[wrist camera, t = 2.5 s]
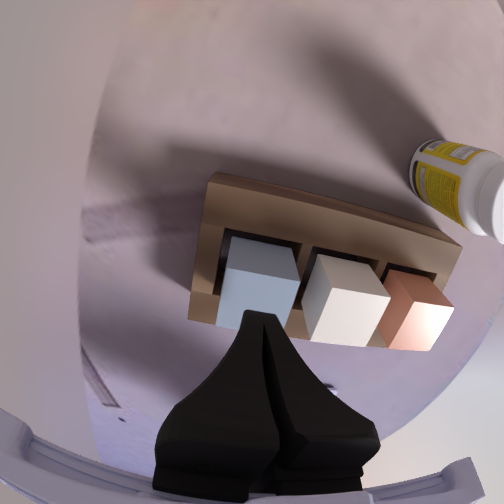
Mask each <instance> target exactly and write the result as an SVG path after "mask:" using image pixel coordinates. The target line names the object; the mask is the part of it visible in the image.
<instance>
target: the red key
mask: <svg viewBox="0 0 504 504" xmlns="http://www.w3.org/2000/svg"><path fill="white" fill-rule="evenodd" d="M383 286H384V288H385V289H386V291H387V292H388V294H389V295H390V297H391V299H390V301H389V303H388V305H387V307H386V309H385V311H384V313H383V315H382V317H381V319H380V321H379V323H378V325H377V328H378V330H379V332H380V334H381V336H382V338H383V340H384V342H385V344H386V346H387V348H388V349H398V350H416V351H429V350H430V348H431V347H432V345H433V344H434V342H435V341H436V339H437V337H438V336H439V334H440V332H441V331H442V329H443V327H444V326H445V324H446V322H447V321H448V319H449V317H450V315H451V314H452V312H453V310H454V306H453V305H452V304H451V303H450V302H449V300H448V299H447V298H446V297H445V296H444V295H443V294H442V292H441V291H440V290H439V289H438V288H437V287H436V286H435V284H434V283H433V282H432V281H431V280H430V279H429V278H428V277H424V276H419V275H414V274H410V273H405V272H401V271H396V270H392V269H389V272H388V274H387V276H386V279H385V281H384V283H383Z"/></svg>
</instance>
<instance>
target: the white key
mask: <svg viewBox="0 0 504 504" xmlns="http://www.w3.org/2000/svg"><path fill="white" fill-rule="evenodd" d="M390 299H391V297H390V295H389V294H388V292H387V291H386V289H385V288H384V286H383V285H382V283H381V282H380V280H379V279H378V277H377V276H376V274H375V273H374V272H373V270H372V269H371V267H370V266H369V265H368V264H364V263H359V262H354V261H350V260H345V259H340V258H335V257H331V256H326V255H321V254H318V255H317V258H316V261H315V264H314V267H313V269H312V272H311V275H310V278H309V281H308V284H307V287H306V290H305V292H304V295H303V298H302V301H301V304H302V308H303V312H304V317H305V321H306V325H307V330H308V334H309V339H310V341H314V342H322V343H331V344H340V345H350V346H360V347H366V345H367V343H368V341H369V340H370V338H371V336H372V334H373V332H374V330H375V328H376V327H377V325H378V323H379V321H380V319H381V317H382V315H383V313H384V311H385V309H386V307H387V305H388V303H389V301H390Z"/></svg>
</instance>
